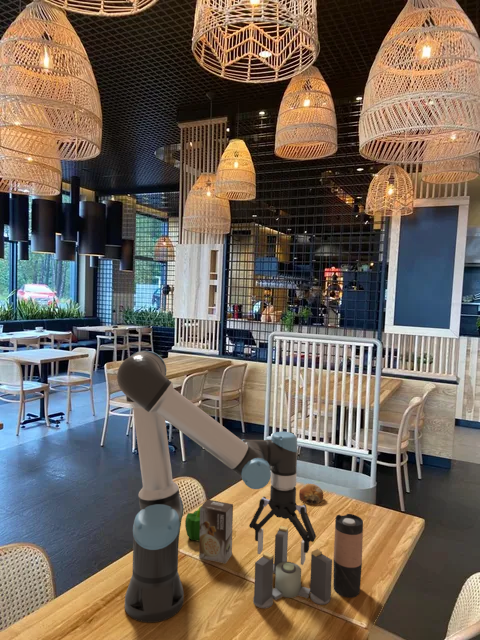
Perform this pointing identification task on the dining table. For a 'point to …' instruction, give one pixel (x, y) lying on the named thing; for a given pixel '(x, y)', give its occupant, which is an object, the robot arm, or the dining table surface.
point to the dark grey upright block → (264, 581)
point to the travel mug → (348, 555)
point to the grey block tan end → (280, 546)
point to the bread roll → (311, 494)
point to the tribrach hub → (288, 581)
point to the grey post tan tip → (320, 578)
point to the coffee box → (216, 531)
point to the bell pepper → (193, 525)
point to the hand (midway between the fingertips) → (281, 557)
